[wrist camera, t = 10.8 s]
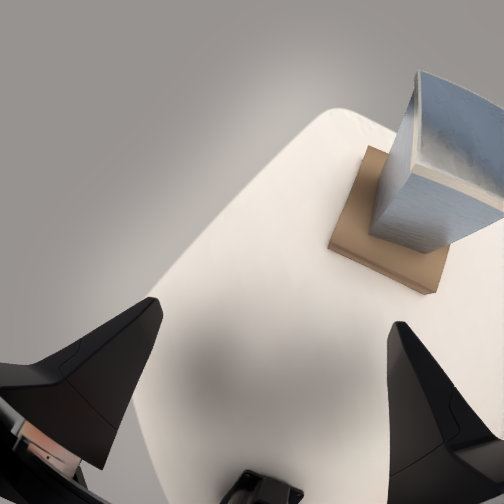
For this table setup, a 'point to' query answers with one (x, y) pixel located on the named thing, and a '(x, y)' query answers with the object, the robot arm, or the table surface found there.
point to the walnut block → (376, 249)
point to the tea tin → (441, 168)
